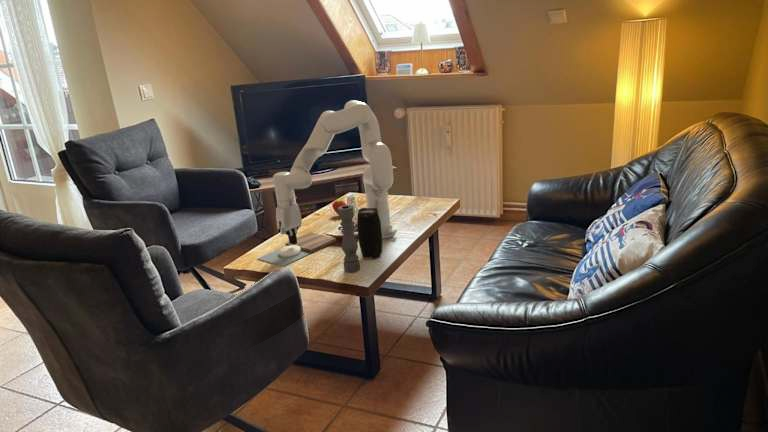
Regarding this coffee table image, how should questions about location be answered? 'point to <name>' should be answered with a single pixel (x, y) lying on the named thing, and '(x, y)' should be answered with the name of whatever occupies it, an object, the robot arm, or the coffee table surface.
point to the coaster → (290, 251)
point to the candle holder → (349, 239)
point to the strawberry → (338, 204)
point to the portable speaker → (369, 233)
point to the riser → (313, 242)
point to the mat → (281, 258)
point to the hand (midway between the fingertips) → (293, 243)
